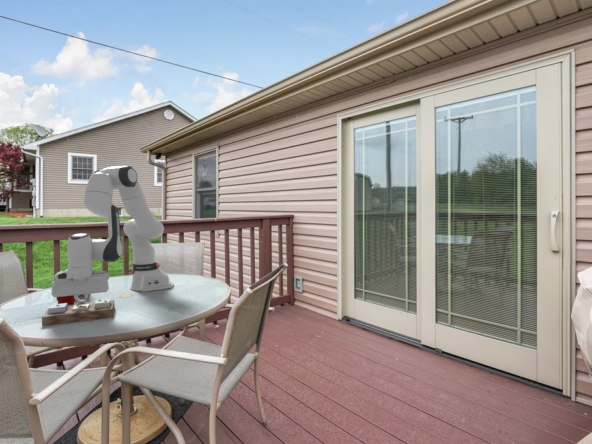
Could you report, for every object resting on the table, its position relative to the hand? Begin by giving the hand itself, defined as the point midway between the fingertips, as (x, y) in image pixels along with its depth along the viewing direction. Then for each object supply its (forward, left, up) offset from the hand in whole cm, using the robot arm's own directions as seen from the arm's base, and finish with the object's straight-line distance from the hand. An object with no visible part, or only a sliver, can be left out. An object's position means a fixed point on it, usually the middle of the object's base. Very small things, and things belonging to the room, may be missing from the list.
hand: (81, 304), depth 140 cm
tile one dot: (+8, 0, -2) cm, 9 cm away
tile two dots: (-8, 0, -2) cm, 8 cm away
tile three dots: (0, 0, -4) cm, 4 cm away
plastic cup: (+8, -18, -5) cm, 20 cm away
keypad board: (0, 0, -5) cm, 5 cm away
